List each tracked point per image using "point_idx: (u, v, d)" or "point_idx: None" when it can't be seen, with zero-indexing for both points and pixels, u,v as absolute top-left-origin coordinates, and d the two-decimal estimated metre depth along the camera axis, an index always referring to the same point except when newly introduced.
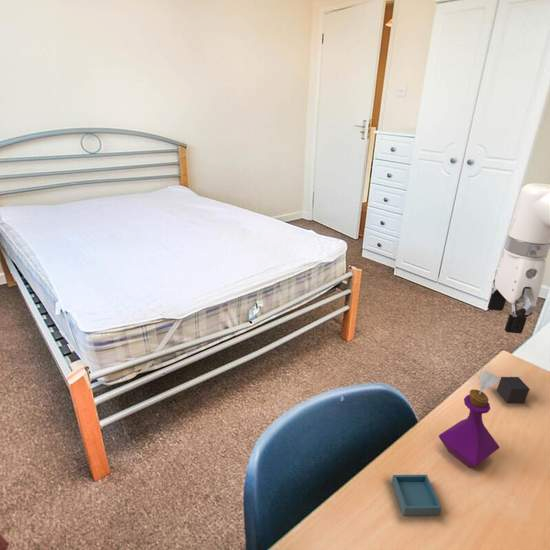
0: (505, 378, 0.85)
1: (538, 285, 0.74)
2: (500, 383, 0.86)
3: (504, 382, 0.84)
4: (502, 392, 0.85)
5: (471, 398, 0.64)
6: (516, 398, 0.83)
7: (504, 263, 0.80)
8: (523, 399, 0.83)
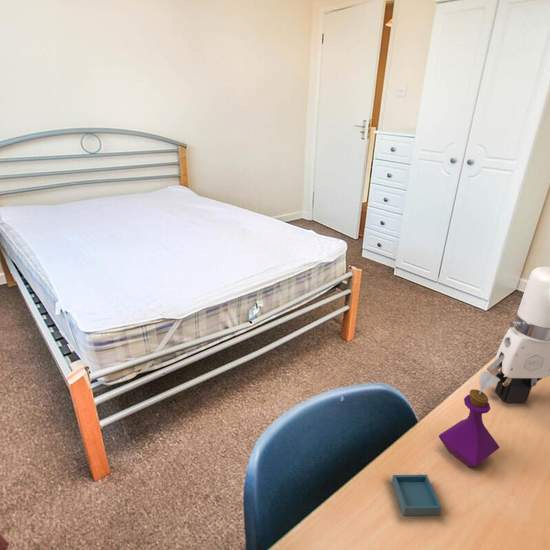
0: None
1: (509, 356, 0.78)
2: None
3: None
4: None
5: (471, 398, 0.64)
6: (516, 398, 0.83)
7: None
8: (523, 399, 0.83)
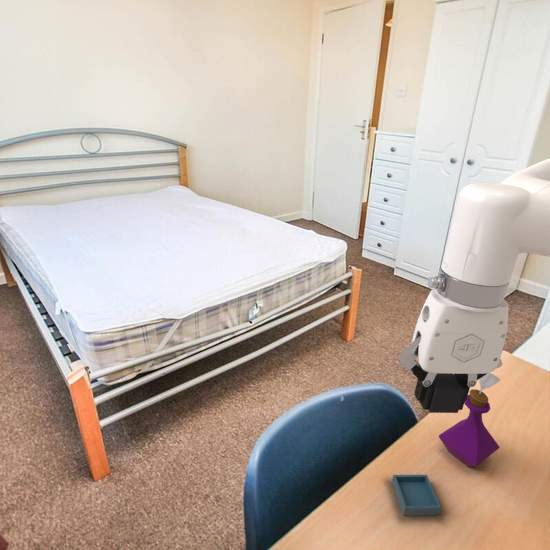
0: None
1: (426, 337, 0.47)
2: None
3: None
4: None
5: (471, 398, 0.64)
6: (444, 405, 0.52)
7: None
8: (456, 407, 0.52)
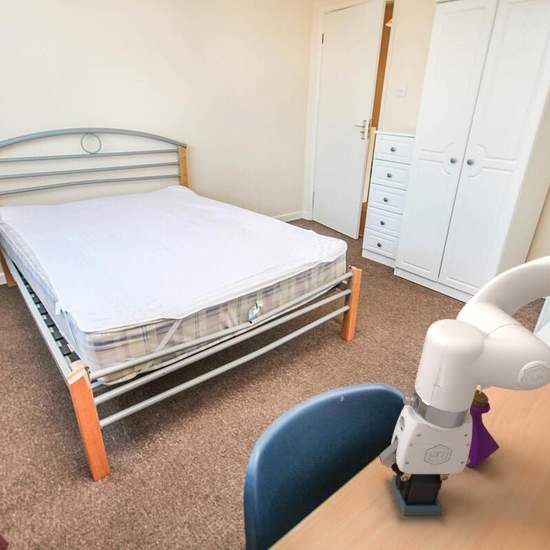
0: None
1: (402, 445, 0.55)
2: None
3: None
4: None
5: None
6: (420, 496, 0.59)
7: None
8: (430, 497, 0.60)
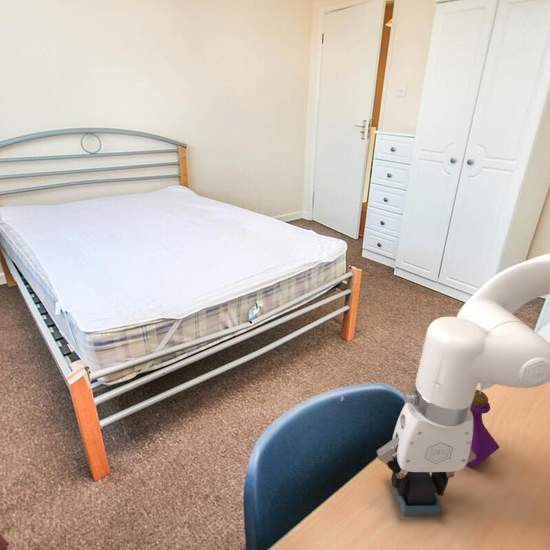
0: None
1: (403, 443, 0.55)
2: None
3: None
4: None
5: None
6: (420, 501, 0.60)
7: None
8: (430, 502, 0.60)
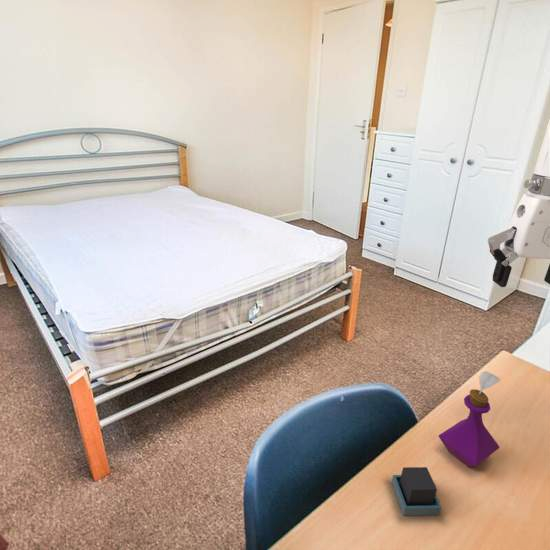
0: (408, 470, 0.62)
1: (523, 227, 0.62)
2: (402, 476, 0.63)
3: (405, 476, 0.61)
4: (403, 489, 0.62)
5: (471, 398, 0.64)
6: (420, 501, 0.60)
7: None
8: (430, 502, 0.60)
